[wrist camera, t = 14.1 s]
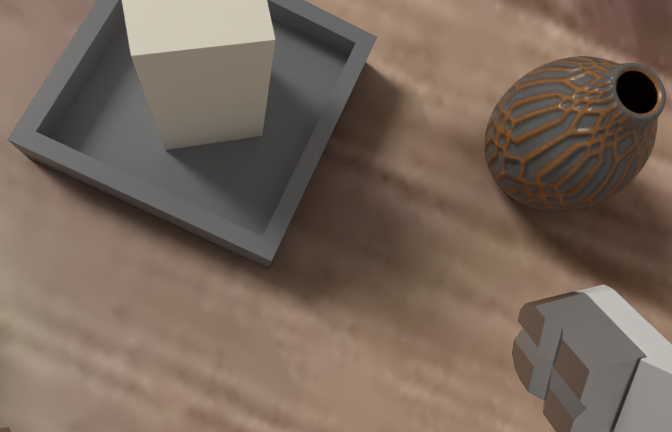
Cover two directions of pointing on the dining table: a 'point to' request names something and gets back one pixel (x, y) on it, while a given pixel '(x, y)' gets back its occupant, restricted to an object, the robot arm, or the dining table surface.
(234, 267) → the dining table surface
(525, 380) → the robot arm
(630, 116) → the vase
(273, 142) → the tray
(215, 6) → the cream block
